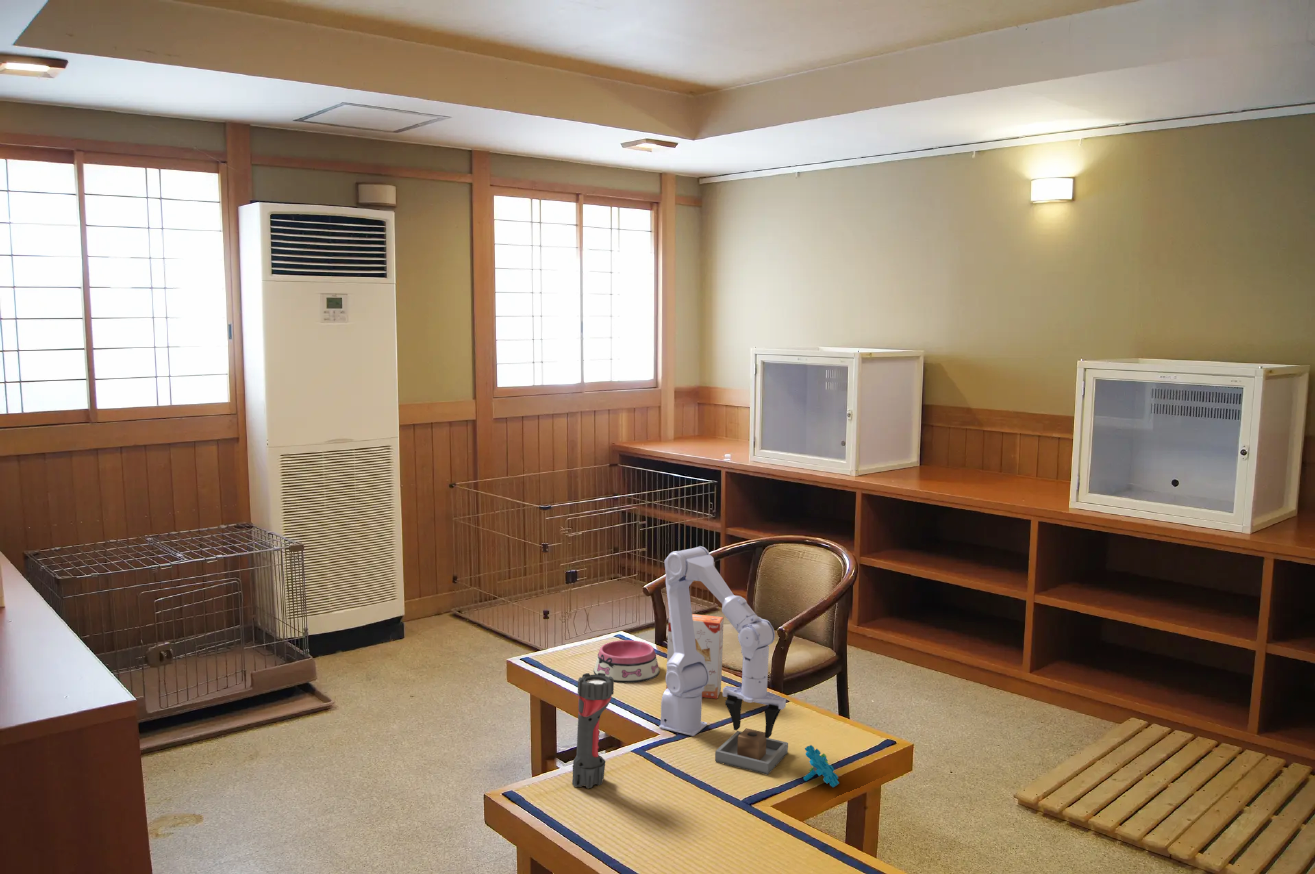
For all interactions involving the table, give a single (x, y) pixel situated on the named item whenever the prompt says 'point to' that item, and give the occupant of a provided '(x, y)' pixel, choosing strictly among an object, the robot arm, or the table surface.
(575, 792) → the table surface
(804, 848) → the table surface
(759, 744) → the walnut block
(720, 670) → the cracker box
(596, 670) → the dog bowl
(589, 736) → the flashlight
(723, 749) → the tray
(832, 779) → the gear
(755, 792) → the table surface
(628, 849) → the table surface
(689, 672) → the robot arm
